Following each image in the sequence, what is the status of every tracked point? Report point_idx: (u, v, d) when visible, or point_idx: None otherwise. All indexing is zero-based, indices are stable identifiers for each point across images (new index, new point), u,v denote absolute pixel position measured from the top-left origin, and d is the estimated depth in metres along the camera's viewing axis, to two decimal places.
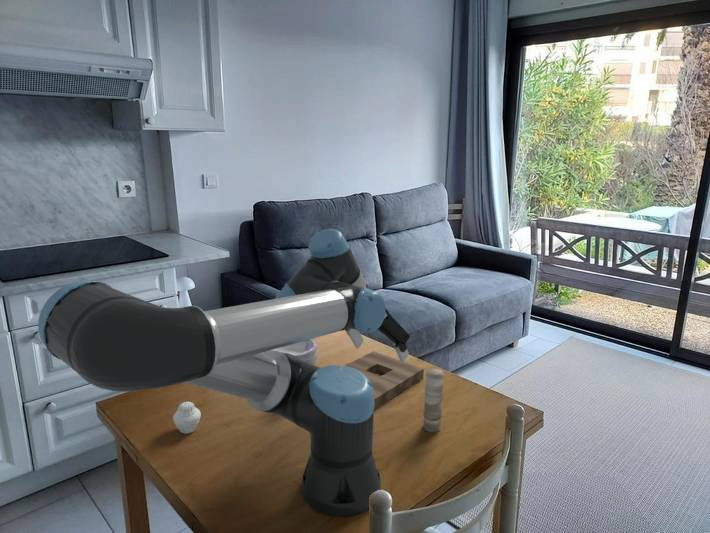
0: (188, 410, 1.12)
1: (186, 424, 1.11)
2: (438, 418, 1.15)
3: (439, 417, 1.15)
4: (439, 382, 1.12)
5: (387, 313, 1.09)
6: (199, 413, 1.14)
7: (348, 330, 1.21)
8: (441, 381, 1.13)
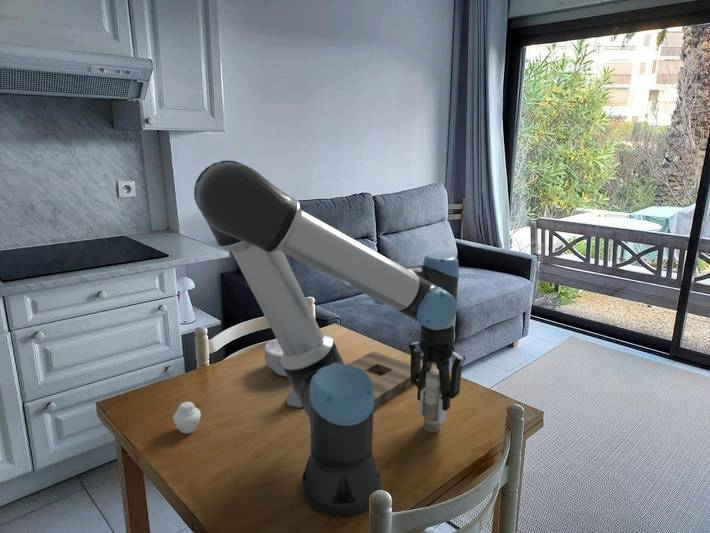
0: (188, 410, 1.12)
1: (186, 424, 1.11)
2: None
3: None
4: (439, 382, 1.12)
5: (462, 363, 1.09)
6: (199, 413, 1.14)
7: (422, 390, 1.16)
8: None
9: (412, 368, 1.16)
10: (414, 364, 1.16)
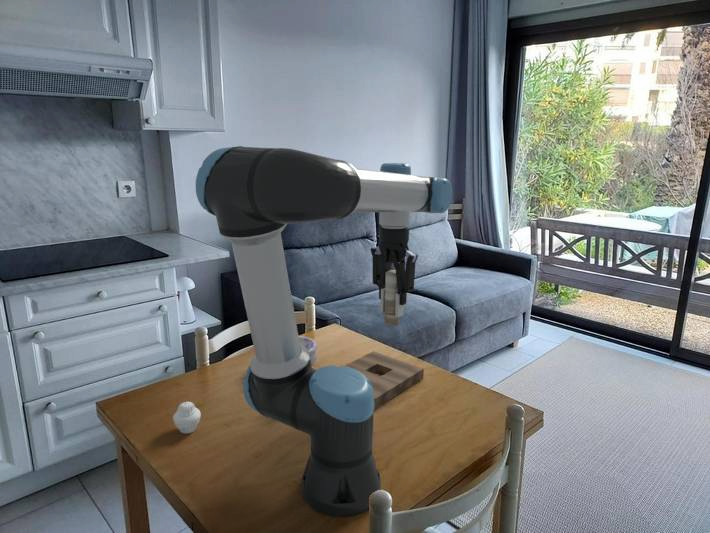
0: (188, 410, 1.12)
1: (186, 424, 1.11)
2: None
3: None
4: (396, 279, 1.26)
5: (415, 260, 1.23)
6: (199, 413, 1.14)
7: (382, 289, 1.30)
8: None
9: (374, 270, 1.30)
10: (375, 266, 1.30)
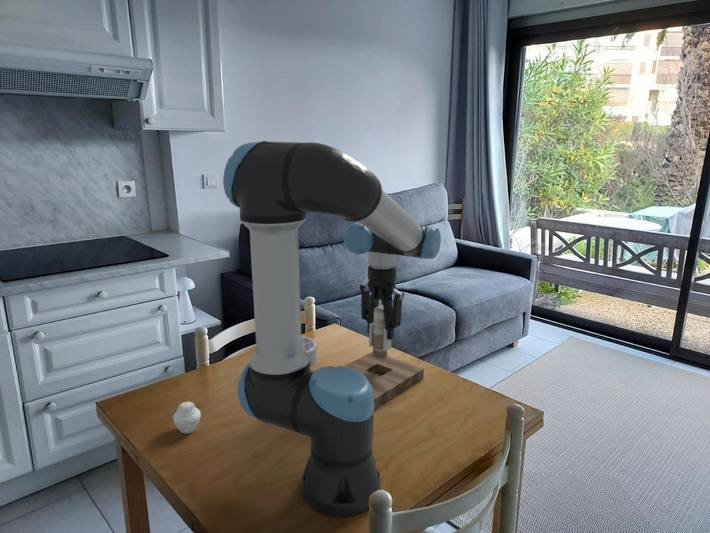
0: (188, 410, 1.12)
1: (186, 424, 1.11)
2: None
3: None
4: None
5: (401, 298, 1.31)
6: (199, 413, 1.14)
7: (371, 323, 1.37)
8: None
9: (362, 305, 1.37)
10: (364, 302, 1.37)
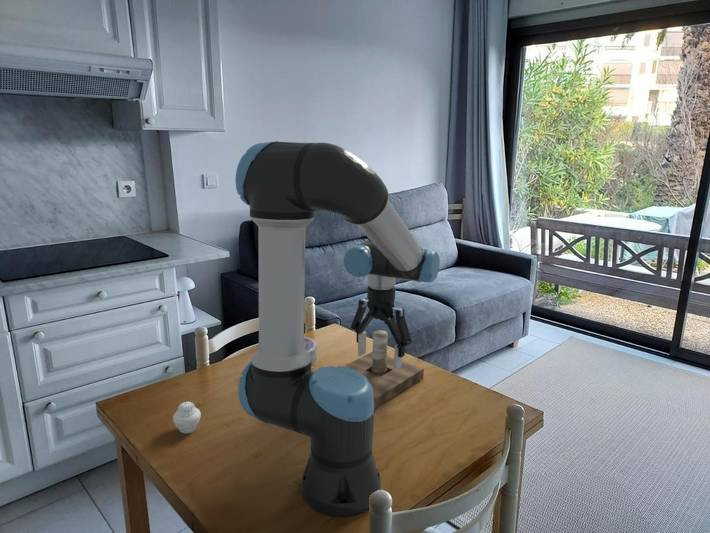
0: (188, 410, 1.12)
1: (186, 424, 1.11)
2: (383, 371, 1.38)
3: (384, 370, 1.38)
4: (383, 340, 1.35)
5: (403, 314, 1.31)
6: (199, 413, 1.14)
7: (359, 333, 1.40)
8: (385, 339, 1.36)
9: (355, 318, 1.40)
10: (358, 315, 1.39)
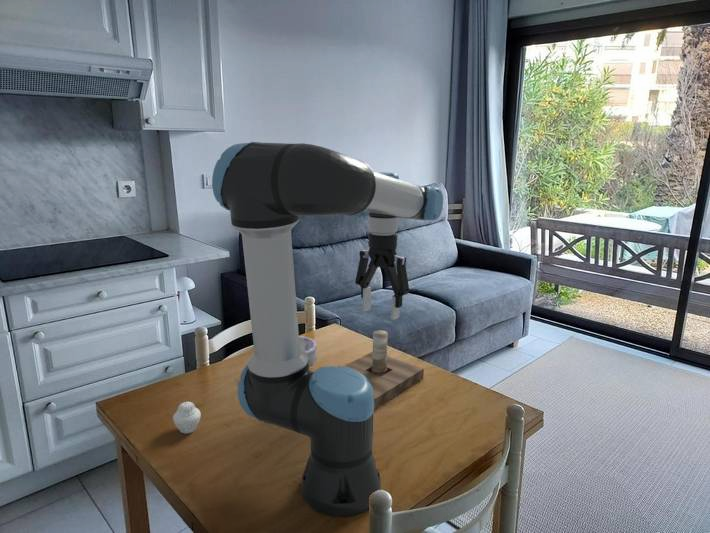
0: (188, 410, 1.12)
1: (186, 424, 1.11)
2: (383, 371, 1.38)
3: (384, 370, 1.38)
4: (383, 340, 1.35)
5: (404, 263, 1.28)
6: (199, 413, 1.14)
7: (364, 288, 1.36)
8: (385, 339, 1.36)
9: (358, 271, 1.36)
10: (361, 268, 1.35)
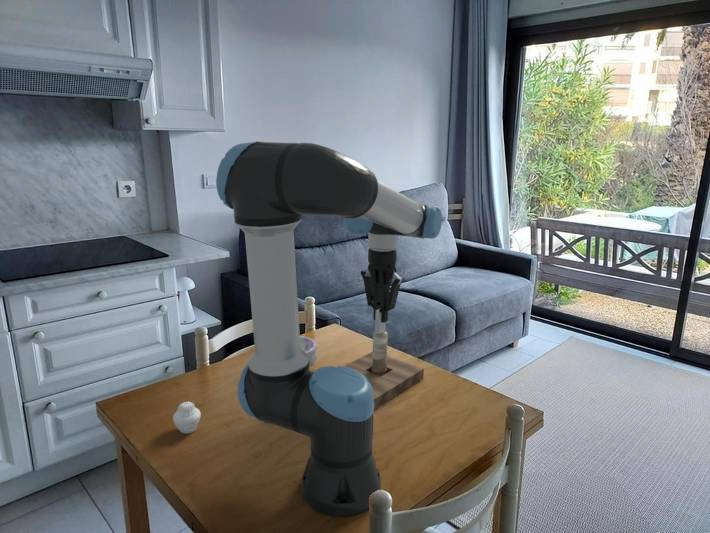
0: (188, 410, 1.12)
1: (186, 424, 1.11)
2: (383, 371, 1.38)
3: (384, 370, 1.38)
4: (383, 340, 1.35)
5: (400, 283, 1.30)
6: (199, 413, 1.14)
7: (377, 310, 1.35)
8: (385, 339, 1.36)
9: (366, 291, 1.35)
10: (367, 287, 1.35)
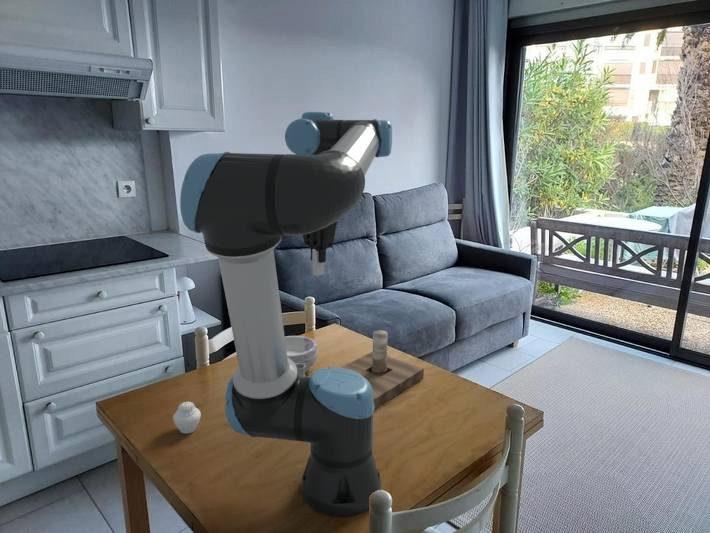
0: (188, 410, 1.12)
1: (186, 424, 1.11)
2: (383, 371, 1.38)
3: (384, 370, 1.38)
4: (383, 340, 1.35)
5: None
6: (199, 413, 1.14)
7: (314, 249, 1.23)
8: (385, 339, 1.36)
9: None
10: None
